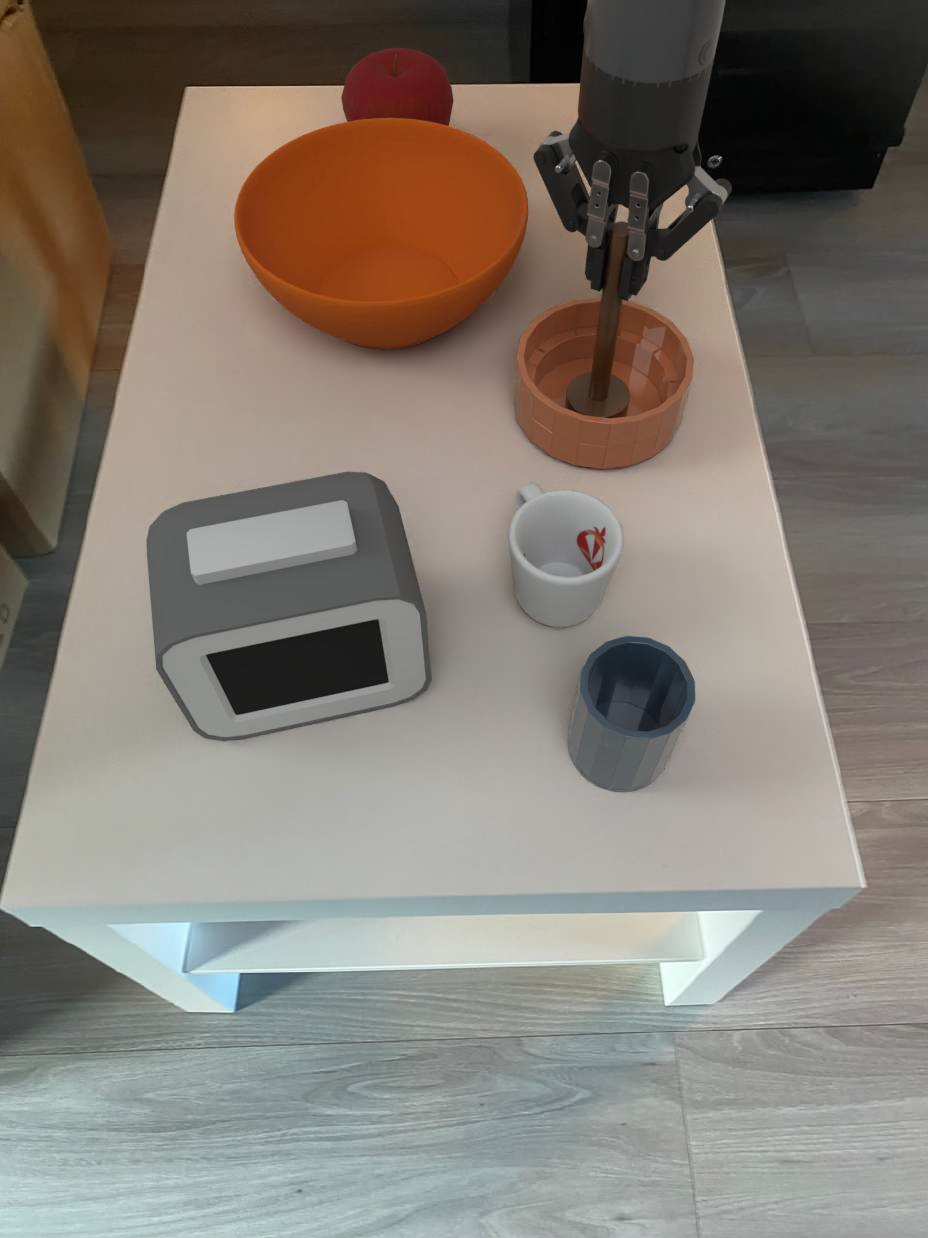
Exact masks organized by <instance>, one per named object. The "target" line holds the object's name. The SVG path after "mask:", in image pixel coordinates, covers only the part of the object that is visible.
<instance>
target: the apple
mask: <svg viewBox="0 0 928 1238" xmlns="http://www.w3.org/2000/svg"><path fill="white" fill-rule="evenodd" d="M451 84H452V83H451V81H450V78H449V76H448V73H447V71H446V67H444V66H443V65H442V64H441V63H440V62H439V61H438V60H437V59H436V58H434V57H432V56H430V55H429V54H427V53H425V52H424V51H420V50H417V49H413V48H406V47H392V48H384V49H381V50H377V51H373V52H371V53H369V54H367V55H366V56H364V57H362V58H361V59H360V60H359V61H357V63H356V64H354V65H353V66H352V67H351V69H350V71H349V73H348V74H347V76H346V78H345V81H344V85H343V89H342V93H341V98H340V99H341V105H342V109H343V110H342V111H343V113H344V116H345V119H346V122H349V121H355V120H362V119H374V118H405V119H416V120H423V121H429V122H434V123H438V124H443V125H447V126H450V122H451V118H452V117H451V116H452V112H453V106H454V93H453V88H452V85H451Z"/></svg>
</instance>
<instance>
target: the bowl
mask: <svg viewBox="0 0 928 1238" xmlns="http://www.w3.org/2000/svg"><path fill="white" fill-rule="evenodd" d="M529 209H530V208H529V198H528V193H527V190H526V186H525V184H524V182H523V179H522V177H521V176H520V174H519V172H518V170H517V169H516V168H515V167H514V165H513V164H512V163H511V162H510V160H509V159H508V158H506V156H505V155H503V153H501V152H500V151H499V150H497V148H495V147H493V146H492V145H491V144H489V143H488V142H486V141H485V140H483V139H481V138H479V137H478V136H475V135H473V134H471V133H469V132H466V131H464V130H462V129H459V128H455V127H453V126H450V125H449V126H447V125H443V124H438V123H434V122H429V121H423V120H416V119H405V118H374V119H362V120H355V121H349V122H347V121H345V122H339V123H335V124H332V125H328V126H324V127H321V128H318V129H315V130H313V131H310V132H307V133H305V134H302V135H299V136H298V137H296V138H294V139H292V140H289V141H288V142H287V143H285V144H283V145H281V146H279V147H278V148H277V149H276V150H273V152H271V153H270V154H269V155H267V156H266V157H265V158H264V159H263V160H262V161H260V163H258V165H256V166H255V167H254V168H253V170H252V171H251V172H250V173H249V175H248V176H247V178H246V179H245V180H244V183H243V184H242V186H241V188H240V190H239V192H238V195H237V198H236V202H235V204H234V212H233V213H234V214H233V223H234V224H233V225H234V230H235V231H234V232H235V236H236V239H237V243H238V245H239V247H240V250H241V252H242V255H243V257H244V260H245V261H246V263H247V265H248V266H249V268H250V269H251V270H252V273H253V274H254V276H255V277H256V278H257V280H258V282H259V283H260V284H261V285H262V286H263V287H264V289H265V290H266V291H267V292H268V294H270V295H271V296H272V297H273V298H274V300H276V301H277V302H278V303H279V304H280V305H281V306H282V307H283V308H284V309H286V310H287V311H288V312H290V313H291V314H292V315H294V316H295V317H296V318H298V319H299V320H300V321H303V322H304V323H306V324H307V325H309V326H311V327H313V328H315V329H317V330H319V331H321V332H322V333H325V334H328V335H330V336H332V337H335V338H338V339H340V340H344V341H346V342H349V343H351V344H354V345H357V346H360V347H364V348H369V349H377V350H378V349H379V350H393V349H394V350H395V349H396V350H397V349H403V348H409V347H413V346H416V345H419V344H423V343H425V342H428V341H430V340H432V339H434V338H436V337H437V336H439V335H441V334H442V333H443V332H446V331H448V330H450V329H452V328H453V327H455V326H456V325H458V324H460V323H461V322H463V321H464V320H465V319H467V318H468V317H470V316H471V315H472V314H474V313H475V312H476V311H477V310H478V309H479V308H480V307H481V306H483V304H484V303H486V302H487V300H489V299H490V298H491V297H492V295H493V294H494V293H495V292H496V291H497V290H498V288H499V287H500V285H501V284H502V283H503V282H504V280H505V278H506V277H507V276H508V274H509V272H510V271H511V269H512V267H513V265H514V263H515V262H516V259H517V257H518V255H519V252H520V250H521V248H522V245H523V242H524V239H525V235H526V232H527V227H528V221H529Z"/></svg>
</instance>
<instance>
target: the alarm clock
mask: <svg viewBox="0 0 928 1238" xmlns="http://www.w3.org/2000/svg"><path fill="white" fill-rule="evenodd" d="M145 543H146V562H147V573H148V586H149V597H150V611H151V622H152V634H153V636H152V637H153V646H154V647H153V648H154V659H155V670H156V672H157V673H158V675H159V677H160V678H161V680H162V681H163V683H164V685H165V686H166V688H167V690H168V691H169V693H170V695H171V696H172V698H173V700H174V701H175V703H176V704H177V706H178V708H179V710H180V711H181V712H182V715H183V716H184V718H185V719H186V721H187V723H188V724H189V726H190V728H191V729H192V731H193V732H195V733H196V734H197V735H199V736H200V737H202V738H203V739H207V740H213V741H221V742H228V741H238V740H247V739H251V738H255V737H260V736H265V735H270V734H275V733H279V732H283V731H288V730H292V729H293V730H294V729H296V728H303V727H305V726H306V727H307V726H310V725H315V724H320V723H324V722H329V721H334V720H338V719H343V718H347V717H351V716H356V715H361V714H366V713H370V712H374V711H375V712H376V711H379V710H384V709H388V708H393V707H396V706H399V705H402V704H405V703H408V702H411V701H414V700H415V699H417V698H418V697H419V696H420V695H422V694H423V693H425V692H427V690H428V688H429V686H430V684H431V681H432V669H431V655H430V645H429V634H428V621H427V611H426V607H425V604H424V600H423V595H422V591H421V588H420V584H419V580H418V575H417V572H416V569H415V564H414V561H413V557H412V552H411V549H410V545H409V540H408V537H407V534H406V530H405V526H404V522H403V518H402V513H401V509H400V506H399V504H398V503H397V501H396V499H395V498H394V496H393V494H392V493H391V490H390V489H389V487H388V485H387V483H386V481H385V480H382V479H380V478H379V477H376V476H374V475H372V474H370V473H368V472H365V471H363V472H362V471H342V472H337V473H332V474H327V475H322V476H316V477H311V478H305V479H301V480H294V481H290V482H285V483H279V484H274V485H268V486H264V487H257V488H253V489H247V490H242V491H237V492H231V493H227V494H226V493H225V494H221V495H215V496H210V497H205V498H200V499H194V500H189V501H184V502H183V501H182V502H181V503H178V504H177V505H174V506H172V507H169V508H167V509H165V510H163V511H162V512H161V513H160V514H159V515H158V516H157V517H156V519H155V520H154V521H153V522H152V523H150V525H149V527H148V531H147V536H146V541H145Z"/></svg>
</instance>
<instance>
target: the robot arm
mask: <svg viewBox="0 0 928 1238" xmlns="http://www.w3.org/2000/svg"><path fill="white" fill-rule="evenodd" d="M725 6H726V0H587V3H586V11H585V13H584V18H583V27H582V29H583V34H584V36H583V37H584V38H583V47H582V60H581V71H580V81H579V91H578V103H577V119H576V122H575V123H574V125H573V126H572V127H571V129H570V131H569V132H565V133H562V132H561V131H559V130H553V131H551V132H550V133H549V134H548V136H546V137H545V138H544V140H543V141H542V142H541V143H540V145H539V147H538V148H537V149H536V151H535V152H534V153H533V160H534V164H535V167H536V169H537V170H538V173H539V175H540V177H541V180H542V182H543V184H544V186H545V188H546V191H547V192H548V195H549V197H550V200H551V201H552V204H553V206H554V209H555V211H556V213H557V216H558V218H559V220H560V222H561V224H562V226H563V228H564V229H565V230H566V231H567V232H569V233H576V232H578V233H580V234H582V236H584V239H585V242H586V244H587V249H586V258H585V267H584V276H585V279H586V280H587V281H590V286H589V287H590V290H592V291H596V292H599V293H600V292H602V289H603V282H604V274H605V267H606V260H607V252H608V245H609V237H610V230H611V226H612V225H613V224H614V223H616V222H617V216H618V211H619V206H620V205H621V206H622V207H624V208H626V209H628V215H627V229H628V230H629V239H628V249H627V254H626V256H625V257H624V262H623V268H622V275H621V281H620V288H619V294H618V298H620V299H623V300H626V301H630V299H631V297H632V296H635V297H637V295H638V294H639V293H640V291H641V289H642V288H643V286H644V285H645V284H646V282H647V280H648V277H649V271H650V267H651V260H652V258H654V257H655V258H656V259H657V260H658V261H661V262H665V261H668V260H669V259H670V258H671V257H673V256H674V255H675V253H677V252H678V251H679V250H680V249H681V248H682V247H683V246H684V245H686V244H687V243H688V242H689V241H690V240H691V239H692V238H693V237H694V236H695V235H697V234H698V233H699V232H700V231H701V230H702V229H703V228H704V227H705V226H707V225H708V223H710V222H711V221H712V220H713V219H714V218H715V217H716V216H717V215H718V214H719V212H720V211H721V209H722V208H723V205H724V204H725V203H726V202H727V199H728V198H729V196H730V194H731V193H732V190H733V188H732V187H733V186H732V184H731V182H730V181H729V180H728V179H725V178H718V179H716V180H715V179H713V178H712V177H711V175H709V174H708V173H707V172H706V171H705V169H704V168H703V167H701V164H702V152H701V149H700V145H699V134H700V130H701V125H702V120H703V114H704V110H705V104H706V101H707V96H708V90H709V85H710V80H711V75H712V70H713V66H714V61H715V56H716V52H717V47H718V41H719V37H720V32H721V28H722V23H723V17H724V13H725V12H724V11H725ZM576 162H577V163H576ZM577 165H578V166H579V168H580V170H581V172H582V174H583V176H584V178H585V180H586V181H587V183H588V186H589V187H590V192H588V190H587V186H586V184H585V182H584V180H583V177H582V175H581V172H580V170H579V168H578V166H577ZM685 186H686V187H687V188H688V193H687V196H686V197H685V199H684V206H685V210H684V211H682V213H680V215H678V216H677V217H676V218H675V219H674V220H673V221H672V222H671V223H670V224H669V225H668V226H667V227H666V228H665V227H663V228H659V225H660V224H659V223H660V217H661V212H662V210H663V207H664V204H665V202H666V201H668V200H669V199H670V198H671V197H672V196H674V195H675V194H676V193H677V192H679V191H680V190H681V189H682V188H684V187H685Z"/></svg>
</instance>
